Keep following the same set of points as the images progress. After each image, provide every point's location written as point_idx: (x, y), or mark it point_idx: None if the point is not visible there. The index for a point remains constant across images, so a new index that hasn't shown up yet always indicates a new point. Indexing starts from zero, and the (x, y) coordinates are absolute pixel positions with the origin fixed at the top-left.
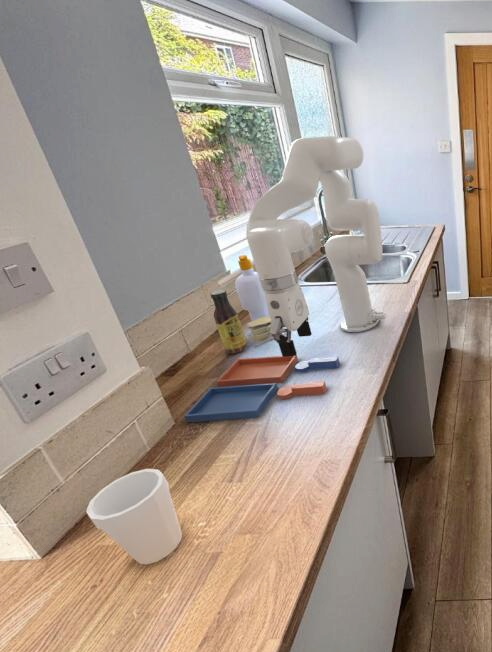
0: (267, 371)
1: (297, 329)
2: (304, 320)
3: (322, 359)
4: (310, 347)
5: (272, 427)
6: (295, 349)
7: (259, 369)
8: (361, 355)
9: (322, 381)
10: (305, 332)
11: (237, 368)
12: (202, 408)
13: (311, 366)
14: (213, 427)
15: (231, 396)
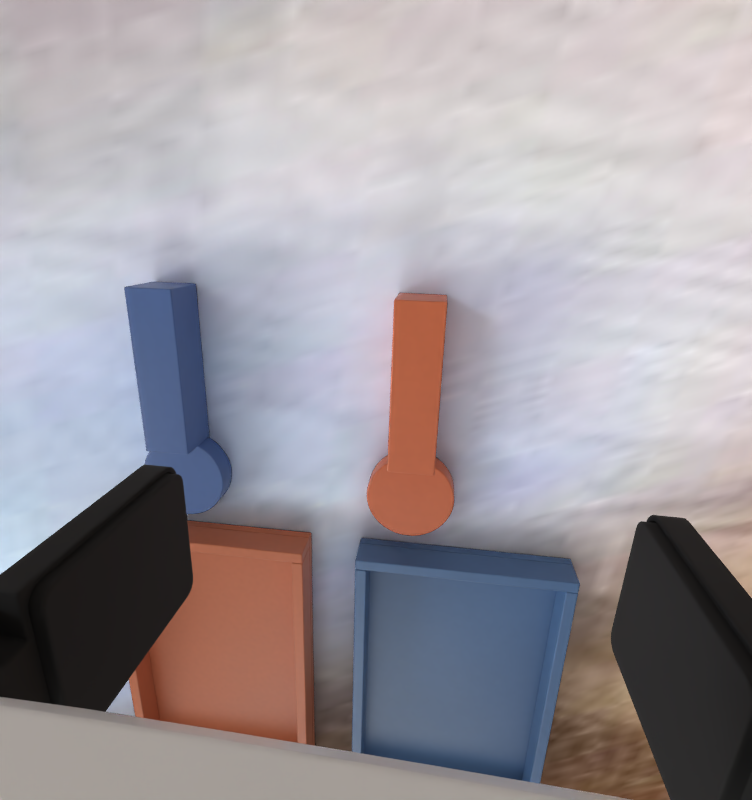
0: (222, 619)
1: (139, 656)
2: (200, 744)
3: (155, 379)
4: (6, 486)
5: (675, 478)
6: (689, 556)
7: (204, 653)
8: (63, 158)
9: (394, 314)
10: (158, 540)
11: None
12: (460, 765)
13: (199, 430)
14: (589, 697)
15: (397, 698)
